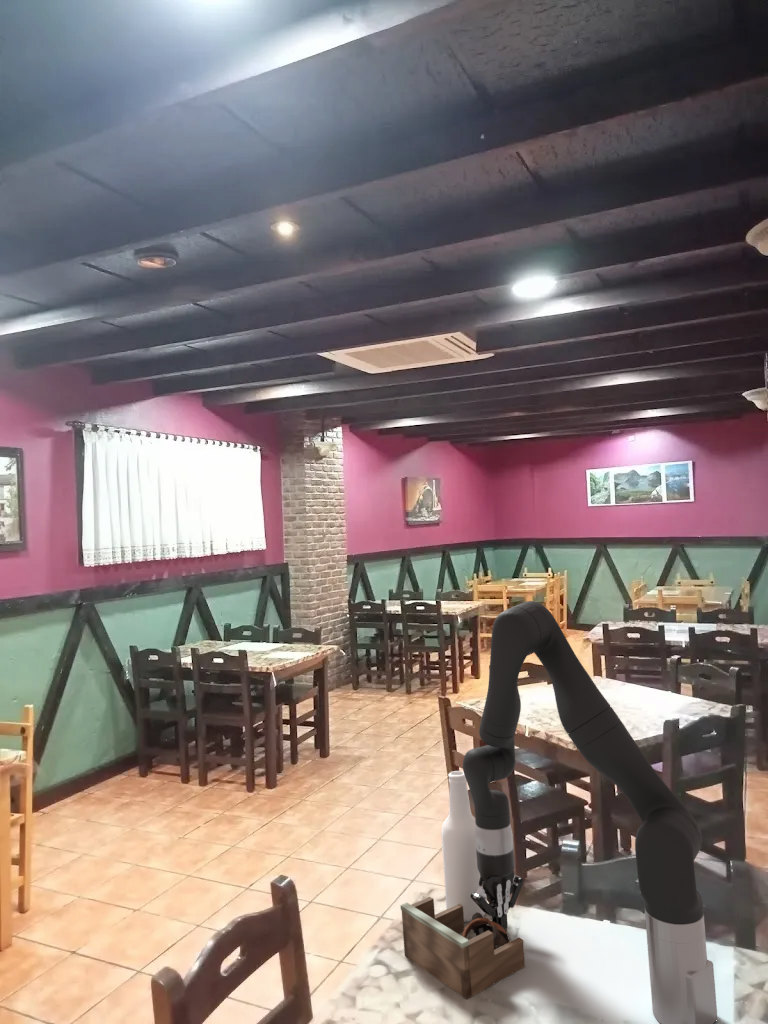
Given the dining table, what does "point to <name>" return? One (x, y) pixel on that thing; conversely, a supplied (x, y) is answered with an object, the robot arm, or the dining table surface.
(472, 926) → the pottery mug
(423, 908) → the brown stepped open box
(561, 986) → the dining table surface
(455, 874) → the alcohol
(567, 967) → the dining table surface
